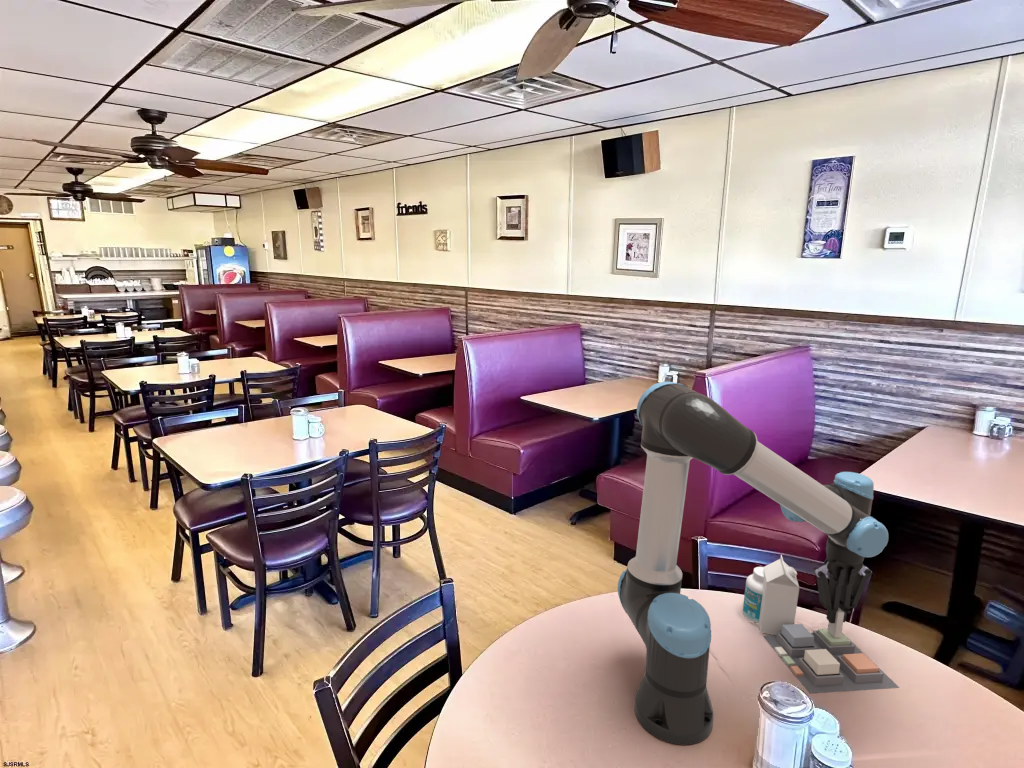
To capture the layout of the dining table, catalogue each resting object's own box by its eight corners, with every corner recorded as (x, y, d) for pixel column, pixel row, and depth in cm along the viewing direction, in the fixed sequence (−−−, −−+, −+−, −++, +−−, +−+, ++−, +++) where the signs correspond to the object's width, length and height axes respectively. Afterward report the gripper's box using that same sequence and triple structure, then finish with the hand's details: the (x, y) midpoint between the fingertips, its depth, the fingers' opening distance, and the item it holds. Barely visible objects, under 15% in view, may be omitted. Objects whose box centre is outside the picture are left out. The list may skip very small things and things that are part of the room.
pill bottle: (736, 610, 148) (742, 563, 145) (763, 608, 148) (769, 562, 145) (750, 628, 141) (757, 580, 137) (779, 627, 141) (786, 579, 138)
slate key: (793, 647, 129) (794, 637, 128) (781, 633, 134) (782, 624, 133) (813, 646, 129) (814, 636, 129) (800, 632, 134) (801, 623, 133)
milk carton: (759, 636, 138) (768, 567, 133) (756, 619, 144) (765, 552, 140) (791, 643, 136) (801, 572, 131) (787, 625, 142) (797, 557, 138)
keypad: (809, 697, 118) (810, 685, 117) (762, 639, 136) (763, 628, 136) (899, 691, 120) (900, 679, 119) (840, 634, 138) (841, 623, 138)
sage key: (829, 651, 130) (830, 642, 129) (816, 638, 135) (818, 629, 134) (849, 650, 130) (850, 641, 130) (835, 637, 135) (837, 628, 135)
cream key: (817, 675, 120) (818, 665, 120) (803, 659, 125) (805, 650, 124) (838, 673, 120) (839, 663, 120) (824, 658, 125) (825, 648, 125)
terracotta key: (856, 679, 121) (857, 669, 121) (841, 663, 126) (842, 654, 125) (877, 677, 122) (878, 668, 121) (861, 662, 126) (863, 653, 126)
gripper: (829, 549, 123) (817, 645, 128) (885, 547, 124) (871, 642, 129) (808, 534, 130) (798, 625, 135) (862, 532, 131) (849, 622, 136)
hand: (834, 633), depth 132 cm, fingers closed
